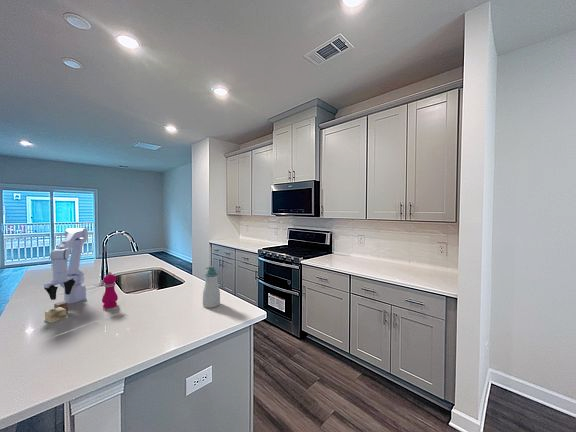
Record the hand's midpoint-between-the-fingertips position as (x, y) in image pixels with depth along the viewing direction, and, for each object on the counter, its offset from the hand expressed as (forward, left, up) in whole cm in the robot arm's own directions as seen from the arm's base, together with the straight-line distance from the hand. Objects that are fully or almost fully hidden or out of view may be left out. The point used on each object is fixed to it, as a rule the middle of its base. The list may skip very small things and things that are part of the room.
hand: (60, 296), depth 130 cm
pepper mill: (-16, +15, -8) cm, 24 cm away
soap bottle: (-45, +63, -8) cm, 78 cm away
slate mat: (+2, +4, -8) cm, 9 cm away
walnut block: (0, 0, -8) cm, 8 cm away
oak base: (+5, +7, -8) cm, 12 cm away
